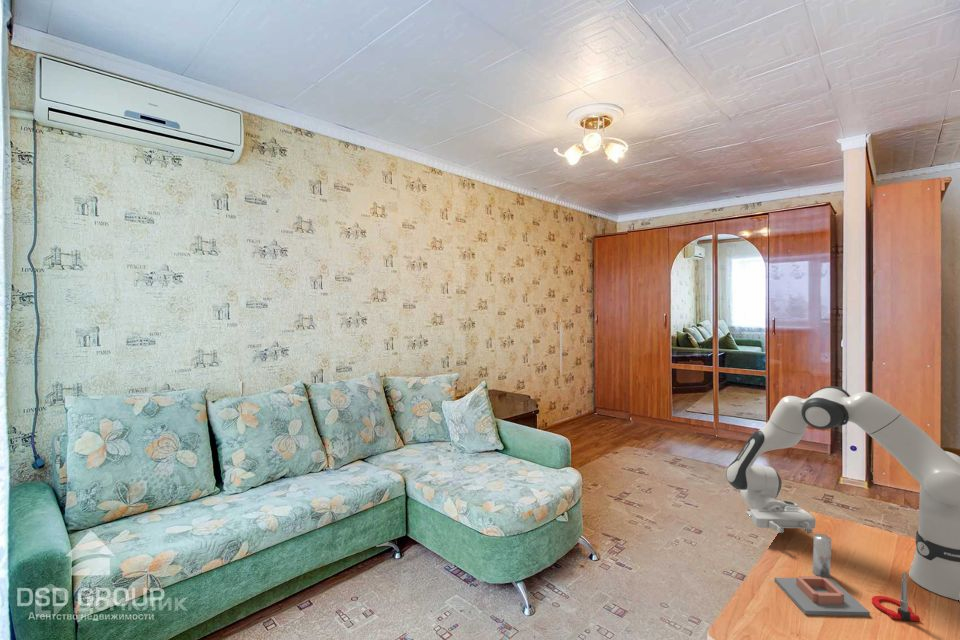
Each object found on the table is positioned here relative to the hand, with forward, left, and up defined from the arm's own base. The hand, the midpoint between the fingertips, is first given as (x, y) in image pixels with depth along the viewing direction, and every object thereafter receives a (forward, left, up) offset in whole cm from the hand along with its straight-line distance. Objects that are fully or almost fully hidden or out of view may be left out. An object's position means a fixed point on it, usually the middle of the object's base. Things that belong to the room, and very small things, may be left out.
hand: (796, 531), depth 150 cm
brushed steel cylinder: (0, +12, -7) cm, 14 cm away
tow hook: (-9, +27, -7) cm, 30 cm away
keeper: (+8, +23, -7) cm, 26 cm away
